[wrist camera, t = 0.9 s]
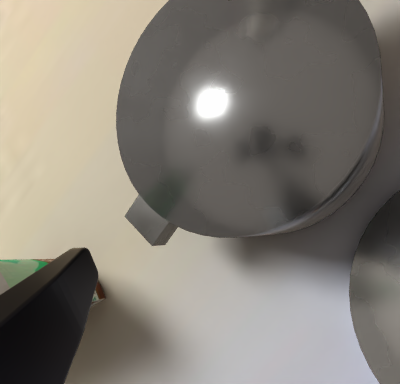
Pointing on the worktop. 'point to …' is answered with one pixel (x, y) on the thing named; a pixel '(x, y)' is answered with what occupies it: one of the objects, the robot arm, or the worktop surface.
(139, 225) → the pot
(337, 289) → the worktop surface
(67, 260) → the robot arm
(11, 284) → the food container
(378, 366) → the lid
